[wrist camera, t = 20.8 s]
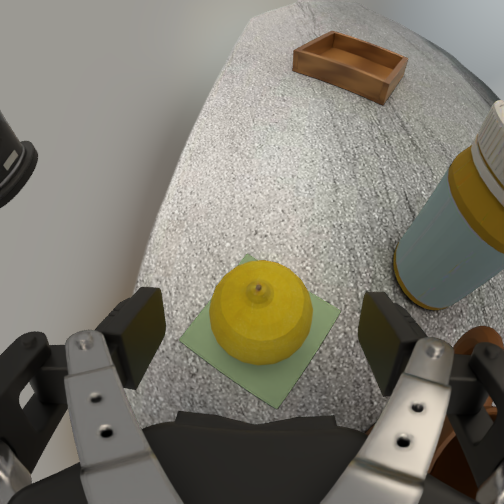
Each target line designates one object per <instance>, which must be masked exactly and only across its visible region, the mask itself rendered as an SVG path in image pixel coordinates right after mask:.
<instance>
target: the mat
mask: <svg viewBox="0 0 504 504" xmlns="http://www.w3.org/2000/svg"><path fill="white" fill-rule="evenodd" d="M250 261H259V260H257V259H255V258H254V257H252V256H250V255H249V254H246V255H245V257H244V258H243V259H242V261H241V262H240V263H239V264H238V266H239V265H241V264H244V263H247V262H250ZM308 292H309V291H308ZM309 295H310V298H311V303H312V307H313V316H312V323H311V328H310V332H309V334H308V336H307V338H306V339H305V341H304V343H303V344H302V346H301V348H299V349H298V350H297V351H296V352H295V353H294V354H292V355H291V356H290V357H289V358H287V359H284V360H282V361H280V362H277V363H275V364H268V365H254V364H249V363H244V362H241V361H239V360H238V359H236V358H234V357H232V356H230V355H229V354H228V353H227V352H226V351H225V350H224V349H223V348H222V347H221V346H220V345H219V344H218V342H217V340H216V338H215V336H214V334H213V332H212V330H211V323H210V316H209V309H210V303H211V300H210V301H209V302H208V304H207V305H206V306H205V307H204V309H203V310H202V311H201V312H200V314H199V315H198V316H197V317H196V319H195V320H194V321H193V323H192V324H191V325H190V326H189V328H188V329H187V330H186V331H185V333H184V334H183V335H182V337H181V338H180V339H179V341H180V342H182V343H183V344H184V345H186V346H187V347H188V348H189V349H191V350H192V351H193V352H195V353H196V354H197V355H198V356H200V357H201V358H202V359H204V360H205V361H206V362H208V363H209V364H211V365H212V366H213V367H215V368H216V369H217V370H219V371H220V372H222V373H223V374H224V375H226V376H227V377H229V378H230V379H231V380H233V381H234V382H236V383H237V384H239V385H240V386H242V387H243V388H244V389H246V390H247V391H249V392H250V393H252V394H253V395H255V396H256V397H258V398H260V399H261V400H263V401H264V402H266V403H267V404H269V405H270V406H272V407H274V408H275V409H278V408H279V406H280V405H281V403H282V402H283V401H284V399H285V398H286V396H287V395H288V394H289V392H290V391H291V389H292V388H293V386H294V385H295V383H296V382H297V381H298V379H299V378H300V376H301V375H302V373H303V372H304V370H305V369H306V367H307V366H308V364H309V363H310V361H311V359H312V358H313V356H314V355H315V353H316V352H317V350H318V349H319V347H320V345H321V344H322V342H323V341H324V339H325V337H326V336H327V334H328V332H329V331H330V329H331V327H332V326H333V324H334V322H335V321H336V319H337V317H338V316H339V314H340V312H341V311H340V310H339V309H337V308H335V307H334V306H332V305H330V304H329V303H327V302H326V301H324V300H322V299H321V298H319V297H317V296H316V295H314V294H312V293H311V292H309ZM211 299H212V298H211Z"/></svg>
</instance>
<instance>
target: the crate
mask: <svg viewBox="0 0 504 504" xmlns="http://www.w3.org/2000/svg"><path fill="white" fill-rule="evenodd" d="M407 62H408V58H406V57H404V56H402V55H399V54H397V53H394V52H392V51H390V50H387V49H385V48H382V47H379V46H377V45H374V44H371V43H369V42H366V41H363V40H360V39H357V38H354V37H351V36H348V35H345V34H342V33H338V32H335V31H330V32H328V33H326V34H324V35H322V36H320V37H318V38H316V39H314V40H312V41H310V42H308V43H306V44H304V45H302V46H301V47H299V48H297V49H295V50H294V51H293V68H292V71H295V72H298V73H301V74H304V75H307V76H310V77H313V78H316V79H319V80H322V81H325V82H327V83H330V84H333V85H335V86H338V87H341V88H343V89H346V90H348V91H351V92H353V93H356V94H358V95H360V96H363V97H365V98H367V99H370V100H372V101H374V102H376V103H378V104H381V105H384V104H385V102H386V101H387V99H388V98H389V96H390V95H391V93H392V92H393V90H394V89H395V87H396V86H397V84H398V83H399V81H400V80H401V78H402V77H403V75H404V72H405V69H406V65H407Z"/></svg>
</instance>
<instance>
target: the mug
mask: <svg viewBox="0 0 504 504" xmlns="http://www.w3.org/2000/svg"><path fill="white" fill-rule="evenodd" d="M480 342H490V343H493V344H496V345H498V346H499V347H501V348H502V349H503V350H504V346H503V342H502V338H501V337H500V335H499V334H498V333H497V332H496V331H495V330H494V329H493V328H491V327H487V326H478V327H475V328H472V329H471V330H469V331H468V332H466V333H465V334H464V335H463V336H462V337H461V338H460V339H459V340H458V341H457V343H456V344H455V345H454V347H453V349H454V354H461V355H472V352H473V350H474V347H475V345H476V344H478V343H480ZM492 402H493V400H492V399H491V397H490V396H489V397H488V398H487V400H486V402H485V404H484V405H483V406H484V407H485V409H486V411H487V412H488V414H489V416H490V418H491V419H492V421H493V423H494V421H495V420H496V417H497V407H494V406H492ZM374 426H375V424H374V425H373V426H372V427H371V428H370V429H369V430H368V431H367V432H366V433H365V434H367V435H369V434H370V433H371V431H372V429H373V428H374ZM427 473H428V474H430V475H432V476H433V477H435V478H437V479H438V480H440V481H442V482H443V483H445V484H447V485H449V486H450V487H452V488H454V489H456V490H457V491H459V492H461V493H463V494H465V495H467V496H468V497H470V498H472V499H474V500H476V493H477V490H478V487H477V484H476V482H475V479H474V477H473V474H472V472H471V469H470V467H469V464H468V462H467V459H466V457H465V455H464V452H463V450H462V448H461V445H460V443H459V441H458V439H457V436H456V434H455V432H454V430H453V428H452V425H451V423H450V421H449V419H448V417H447V415H446V416H445V419H444V423H443V427H442V430H441V434H440V437H439V440H438V443H437V446H436V449H435V452H434V455H433V458H432V461H431V464H430V466H429V469H428V472H427Z"/></svg>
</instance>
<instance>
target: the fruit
mask: <svg viewBox="0 0 504 504" xmlns="http://www.w3.org/2000/svg"><path fill="white" fill-rule="evenodd" d="M209 316H210V323H211V330H212V332H213V334H214V336H215V338H216V340H217V342H218V344H219V345H220V346H221V347H222V348H223V349H224V350H225V351H226V352H227V353H228V354H229V355H230V356H232V357H234V358H236V359H238V360H239V361H241V362H244V363H249V364H254V365H268V364H275V363H277V362H280V361H282V360H284V359H287V358H289V357H290V356H291V355H292V354H294V353H295V352H296V351H297V350H298V349H299V348H301V346H302V344H303V343H304V341H305V339H306V338H307V336H308V334H309V332H310V328H311V323H312V316H313V307H312V303H311V298H310V295H309V292H308V290H307V289H306V287H305V285H304V284H303V282H302V280H301V279H300V278H299V277H298V276H297V275H296V274H294V273H293V272H292V271H291V270H290V269H289V268H287V267H285V266H283V265H281V264H279V263H276V262H271V261H266V260H259V261H250V262H247V263H244V264H241V265H239V266H237V267H235V268H234V269H233V270H231V271H230V272H229V273H227V274H226V275H225V276H224V277H223V278H222V280H221V281H220V282H219V284H218V285H217V286H216V288H215V291H214V293H213V296H212V299H211V303H210V309H209Z"/></svg>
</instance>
